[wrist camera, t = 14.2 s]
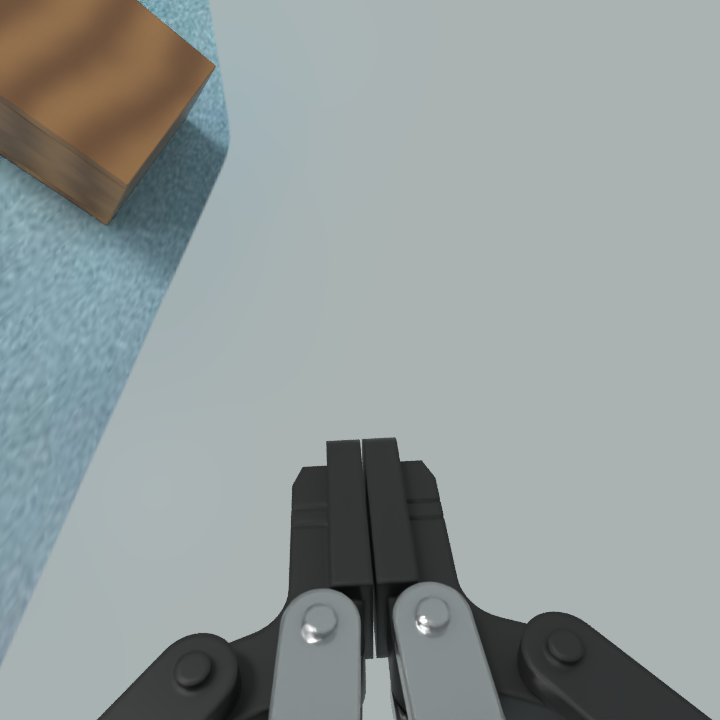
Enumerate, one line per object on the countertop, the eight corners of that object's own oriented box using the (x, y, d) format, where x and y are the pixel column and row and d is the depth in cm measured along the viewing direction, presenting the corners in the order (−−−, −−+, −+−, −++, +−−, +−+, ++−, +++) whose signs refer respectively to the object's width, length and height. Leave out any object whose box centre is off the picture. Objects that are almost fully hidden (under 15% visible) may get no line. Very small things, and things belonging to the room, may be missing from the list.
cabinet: (-87, 96, 46) (-99, 25, 39) (20, -11, 51) (27, -91, 44) (107, 226, 52) (127, 185, 45) (186, 118, 57) (216, 65, 50)
